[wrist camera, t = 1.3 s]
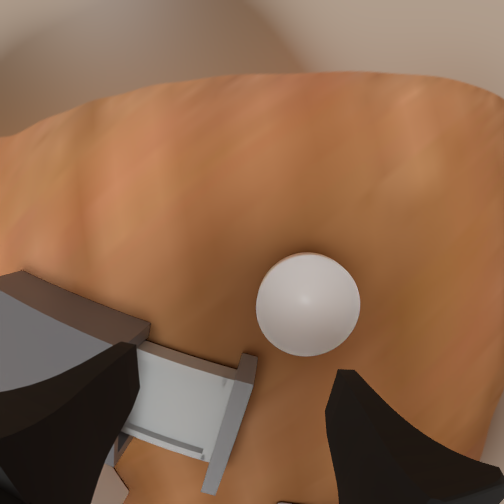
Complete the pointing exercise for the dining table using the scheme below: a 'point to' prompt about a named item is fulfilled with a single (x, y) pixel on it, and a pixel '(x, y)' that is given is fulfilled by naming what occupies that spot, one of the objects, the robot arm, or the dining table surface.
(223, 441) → the grey drawer
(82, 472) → the robot arm
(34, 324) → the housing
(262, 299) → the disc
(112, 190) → the dining table surface
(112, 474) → the milk carton
